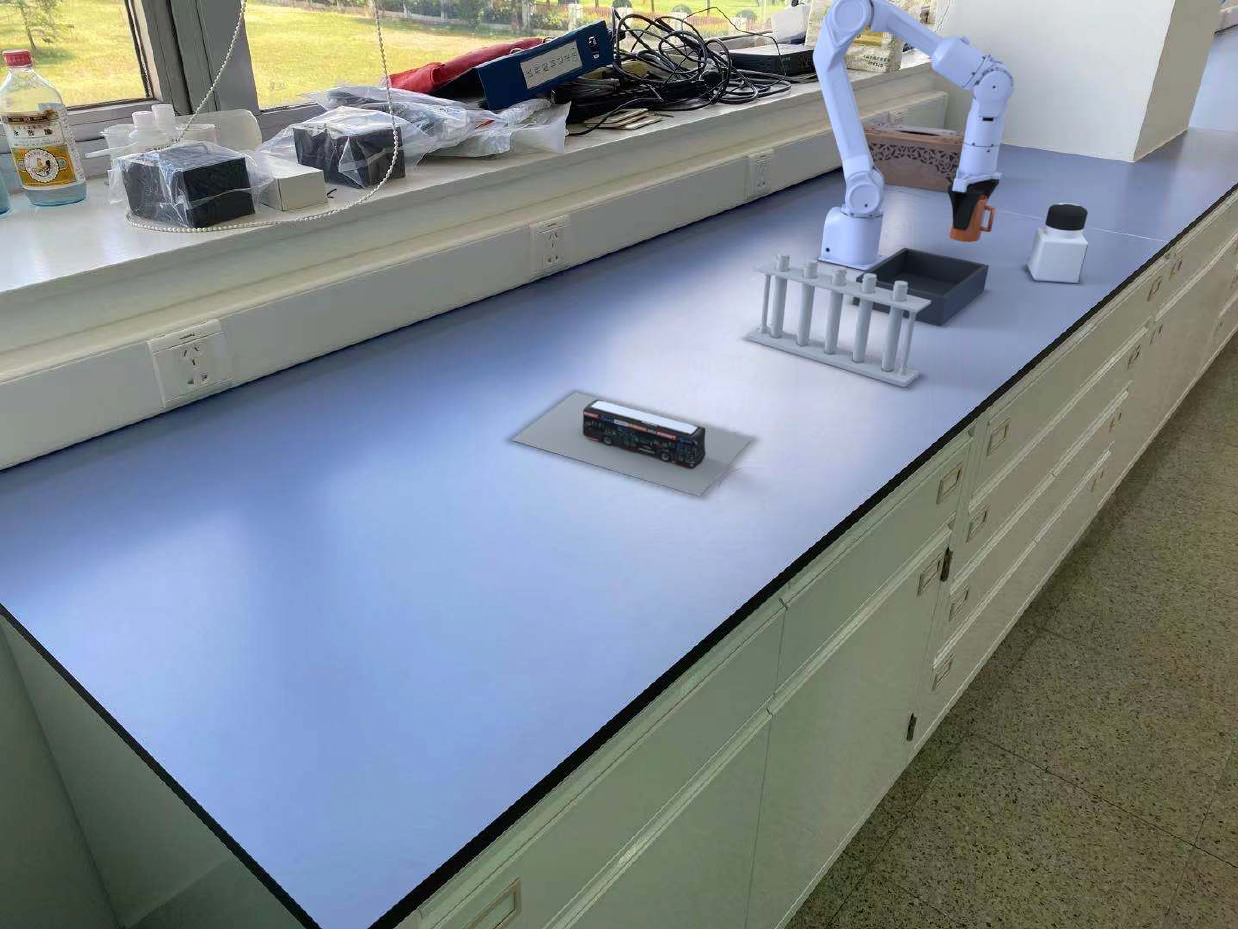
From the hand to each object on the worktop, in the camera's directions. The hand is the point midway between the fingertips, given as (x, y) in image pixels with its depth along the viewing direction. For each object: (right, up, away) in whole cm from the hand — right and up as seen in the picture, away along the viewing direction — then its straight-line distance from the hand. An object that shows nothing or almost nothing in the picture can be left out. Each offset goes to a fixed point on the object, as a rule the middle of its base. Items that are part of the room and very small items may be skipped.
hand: (965, 225), depth 163 cm
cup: (0, -2, +1) cm, 2 cm away
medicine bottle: (+15, -8, +2) cm, 18 cm away
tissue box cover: (+8, +25, +56) cm, 62 cm away
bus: (-58, -38, -47) cm, 84 cm away
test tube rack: (-29, -26, -27) cm, 47 cm away
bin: (-10, -14, -7) cm, 19 cm away
